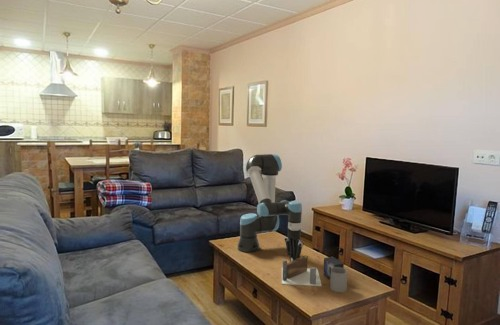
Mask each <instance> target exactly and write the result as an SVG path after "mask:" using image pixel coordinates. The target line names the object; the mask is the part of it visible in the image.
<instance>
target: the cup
mask: <svg viewBox="0 0 500 325" xmlns="http://www.w3.org/2000/svg"><path fill="white" fill-rule="evenodd" d="M347 284H348V270H347V269H346V268H341V267H333V268H331V280H330V283H329V287H330V289H331V291H333V292H335V293H344V292H347V290H348V289H347V288H348V287H347Z"/></svg>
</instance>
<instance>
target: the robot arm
mask: <svg viewBox="0 0 500 325" xmlns="http://www.w3.org/2000/svg"><path fill="white" fill-rule="evenodd" d="M282 164H283V163H282V159H281V158H280V156H279V155H278V154H276V153H275V154H274V153H270V154H269V153H267V154H265V153H264V154H254V155H252V156H251V157H250V158H249V159H248V160H247V162H246V164H245V165H246V166H245V171H246V175H247V176H248V177H249V178H250V181H251V184H252V187H253V190H254V193H255V195H256V198H257V202H258V204H257V205H256V211H257V212H256V213H257V214H256V213H252V212H251V213H250V212H249V213H246V214H242V216H241V217H240V220H239V221H240V222H239V228H240V229H239V239H238V242H237V250H238V251H240V252H245V253H253V252H257V251H259V250H260V248H261V247H260V242H259V239H258V233H259V234H260V233H272V232H276V231H277V230H278V229H279V227H280V217H279V216H284V215H286V216H287V237H285V238H284V242H285V247H286V253H287V256H289V262H292V261H294V260H297V259H299V258H301V252H302V249H303V246H304V242H302V241H301V235H302V234H301V233H302V230H301V229H302V212H303V208H302V202H300V201H297V200H294V201H293V200H291V201H289V200H285V199H283V200H281V201H280V202H279V201H278V202H276V185H277V184H276V183H277V182H276V180H277V179H276V178H277V177H278V176H279V172H281V171H282V168H283V165H282Z"/></svg>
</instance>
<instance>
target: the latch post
mask: <svg viewBox="0 0 500 325" xmlns="http://www.w3.org/2000/svg"><path fill="white" fill-rule="evenodd" d="M309 268H310V284H316V269H317V267H315V266H313V267H312V266H310V267H309Z"/></svg>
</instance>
